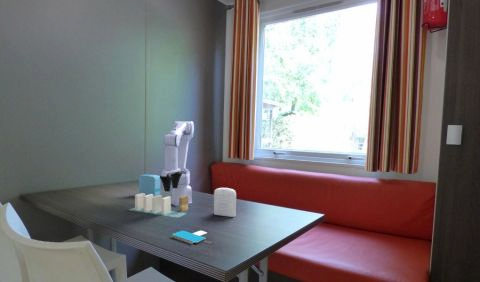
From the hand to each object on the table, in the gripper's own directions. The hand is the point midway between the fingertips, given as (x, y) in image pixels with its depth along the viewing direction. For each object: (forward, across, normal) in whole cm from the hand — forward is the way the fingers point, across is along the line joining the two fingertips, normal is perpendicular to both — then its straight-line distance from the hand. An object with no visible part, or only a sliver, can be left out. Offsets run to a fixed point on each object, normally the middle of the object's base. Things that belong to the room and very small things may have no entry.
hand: (171, 189), depth 137 cm
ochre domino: (+10, -2, +5) cm, 12 cm away
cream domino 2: (+10, +2, -11) cm, 15 cm away
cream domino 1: (+10, +1, -16) cm, 19 cm away
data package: (+10, -24, -26) cm, 37 cm away
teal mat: (+10, +3, -6) cm, 12 cm away
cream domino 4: (+10, +3, -1) cm, 11 cm away
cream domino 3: (+10, +3, -6) cm, 12 cm away
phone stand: (+12, +26, +22) cm, 36 cm away
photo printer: (+11, -2, +25) cm, 28 cm away
